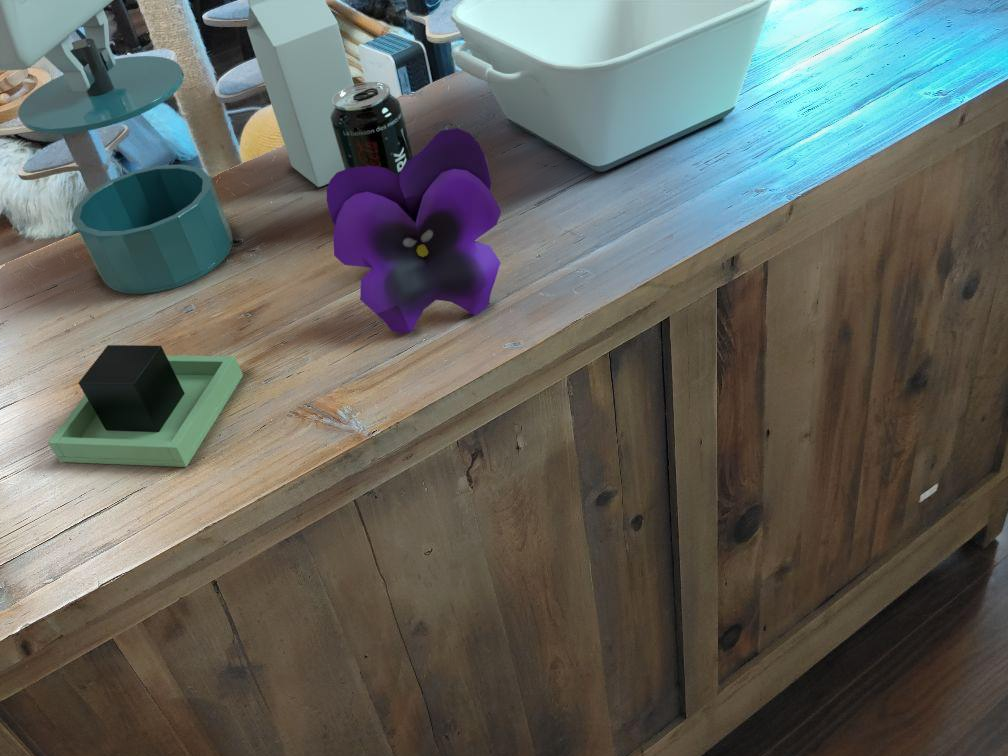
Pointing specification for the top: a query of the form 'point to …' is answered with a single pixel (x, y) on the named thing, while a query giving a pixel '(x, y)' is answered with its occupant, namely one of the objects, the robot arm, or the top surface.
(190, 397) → the tray
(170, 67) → the pot lid
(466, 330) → the top surface
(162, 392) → the black block
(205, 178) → the cook pot
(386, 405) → the top surface
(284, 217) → the top surface
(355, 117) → the beverage can
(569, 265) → the top surface
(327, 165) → the milk carton
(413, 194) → the flower
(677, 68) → the tub
